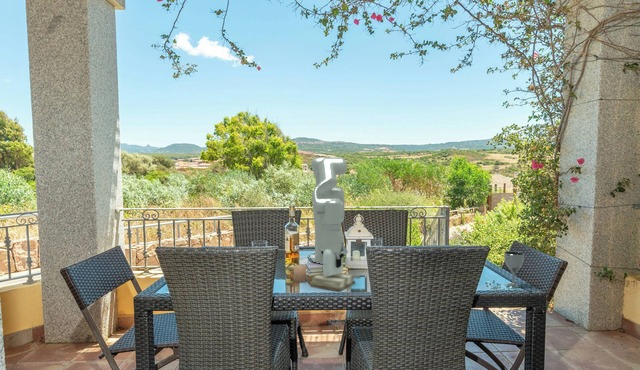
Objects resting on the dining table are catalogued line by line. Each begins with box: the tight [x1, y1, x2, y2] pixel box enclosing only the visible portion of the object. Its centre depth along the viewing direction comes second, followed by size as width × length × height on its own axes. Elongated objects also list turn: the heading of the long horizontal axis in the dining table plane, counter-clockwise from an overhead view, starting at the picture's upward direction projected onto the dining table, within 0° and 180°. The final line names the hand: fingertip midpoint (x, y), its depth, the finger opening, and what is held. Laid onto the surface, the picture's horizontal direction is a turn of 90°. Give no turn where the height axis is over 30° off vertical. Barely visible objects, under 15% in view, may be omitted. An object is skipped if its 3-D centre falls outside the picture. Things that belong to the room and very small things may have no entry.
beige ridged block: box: [310, 272, 356, 293], centre depth 194 cm, size 15×15×4 cm
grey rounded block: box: [322, 249, 344, 276], centre depth 194 cm, size 10×4×12 cm, turn 132°
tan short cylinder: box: [293, 264, 307, 283], centre depth 201 cm, size 6×6×7 cm
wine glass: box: [504, 250, 525, 288], centre depth 191 cm, size 8×8×15 cm
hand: (332, 266), depth 194 cm, fingers open, 5 cm apart
